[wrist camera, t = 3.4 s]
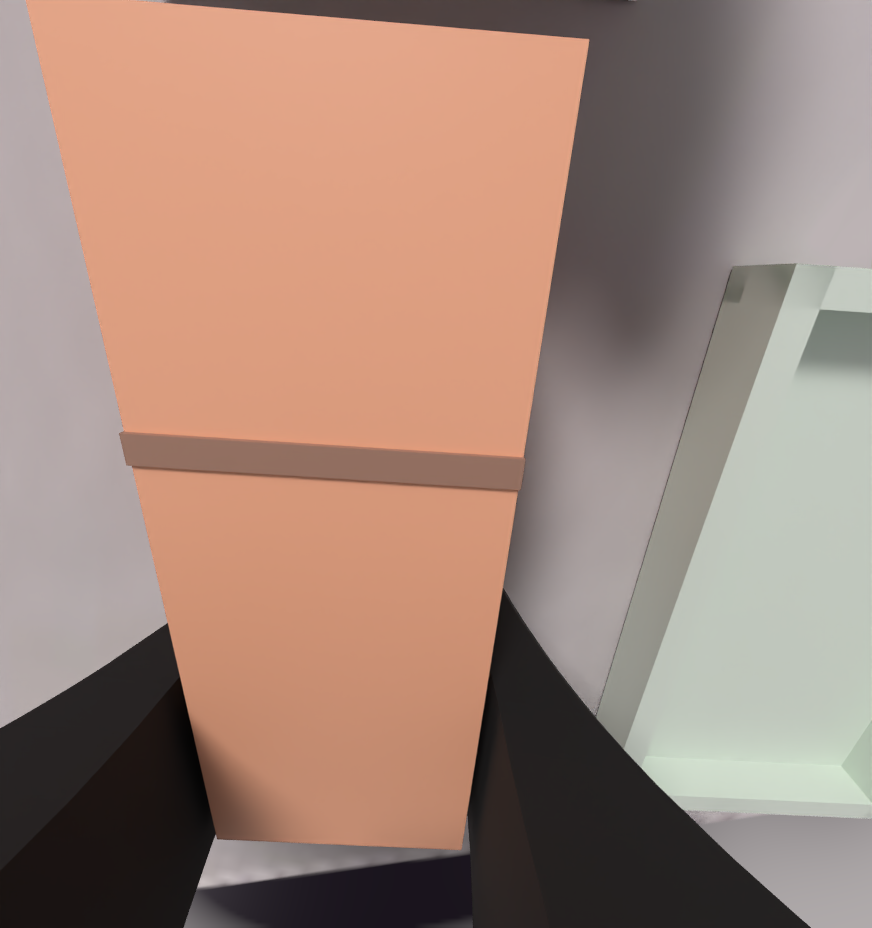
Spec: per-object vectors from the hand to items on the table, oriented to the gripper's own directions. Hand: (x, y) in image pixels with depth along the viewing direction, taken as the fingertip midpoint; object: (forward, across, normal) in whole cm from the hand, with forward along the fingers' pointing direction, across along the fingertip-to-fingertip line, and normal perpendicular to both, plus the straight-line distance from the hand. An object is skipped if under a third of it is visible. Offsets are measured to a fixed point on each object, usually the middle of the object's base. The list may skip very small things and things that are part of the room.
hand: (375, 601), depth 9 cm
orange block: (+1, 0, -3) cm, 3 cm away
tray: (+1, -10, 0) cm, 10 cm away
